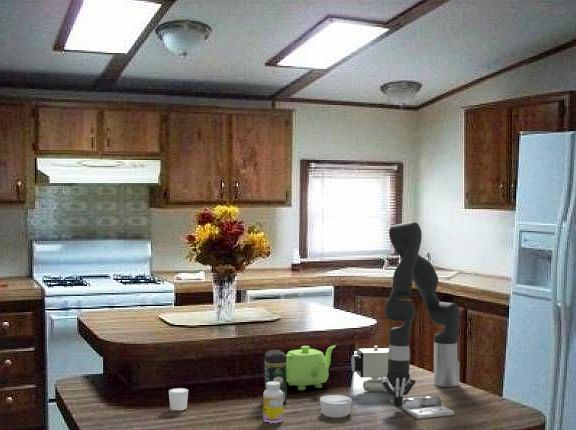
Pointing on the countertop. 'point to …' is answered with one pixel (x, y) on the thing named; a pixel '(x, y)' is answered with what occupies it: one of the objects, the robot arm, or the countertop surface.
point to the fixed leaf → (427, 401)
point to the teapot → (308, 367)
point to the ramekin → (335, 405)
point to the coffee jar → (276, 370)
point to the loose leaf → (424, 409)
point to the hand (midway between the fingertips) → (397, 406)
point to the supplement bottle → (273, 403)
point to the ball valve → (371, 367)
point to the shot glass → (178, 398)
